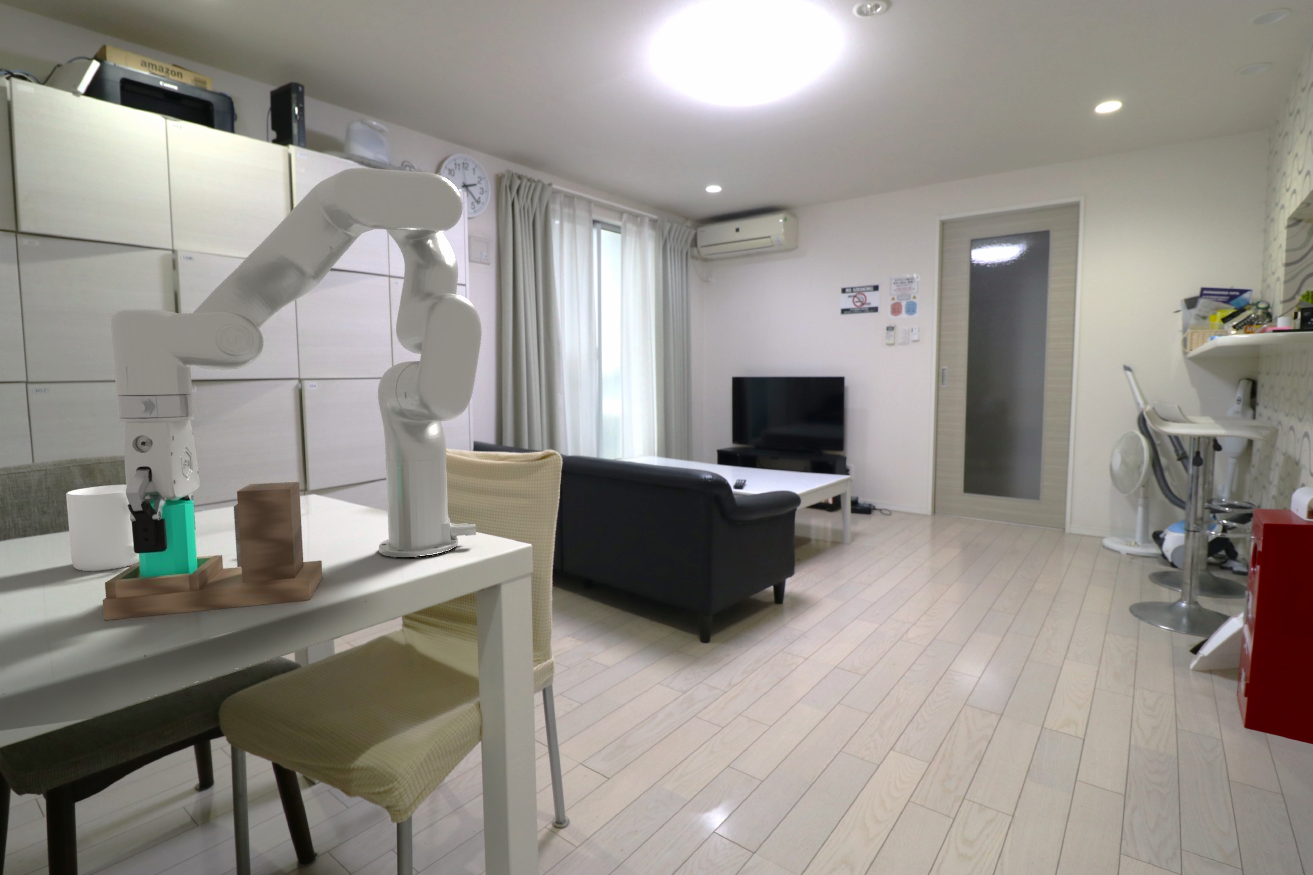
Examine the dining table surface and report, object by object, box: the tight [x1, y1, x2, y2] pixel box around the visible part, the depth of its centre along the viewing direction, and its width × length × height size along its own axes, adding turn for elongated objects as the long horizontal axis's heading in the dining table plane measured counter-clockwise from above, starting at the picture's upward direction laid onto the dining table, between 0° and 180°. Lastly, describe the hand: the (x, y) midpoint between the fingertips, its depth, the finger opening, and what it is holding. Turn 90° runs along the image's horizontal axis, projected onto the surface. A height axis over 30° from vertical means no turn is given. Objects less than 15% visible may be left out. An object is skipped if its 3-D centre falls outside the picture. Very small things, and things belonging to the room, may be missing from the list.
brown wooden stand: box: [102, 481, 323, 621], centre depth 84 cm, size 22×10×14 cm, turn 109°
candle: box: [139, 499, 198, 578], centre depth 82 cm, size 6×6×12 cm
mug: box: [65, 484, 139, 572], centre depth 100 cm, size 10×12×12 cm
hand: (166, 542), depth 82 cm, fingers open, 9 cm apart
